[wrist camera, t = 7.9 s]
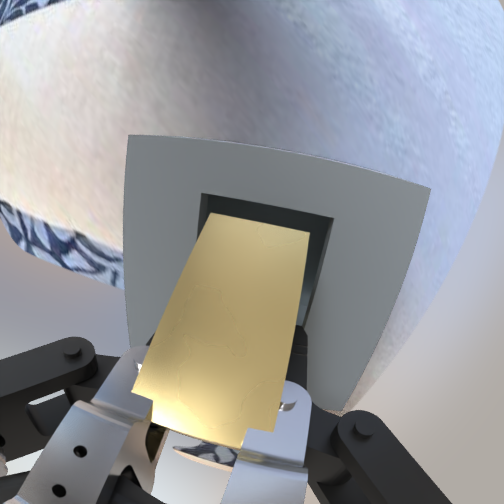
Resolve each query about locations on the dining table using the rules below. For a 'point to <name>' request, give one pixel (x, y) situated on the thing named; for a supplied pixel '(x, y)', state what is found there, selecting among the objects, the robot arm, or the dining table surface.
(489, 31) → the dining table surface
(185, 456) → the dining table surface
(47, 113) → the dining table surface
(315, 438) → the robot arm
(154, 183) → the grey hollow block
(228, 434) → the gold flat square block
